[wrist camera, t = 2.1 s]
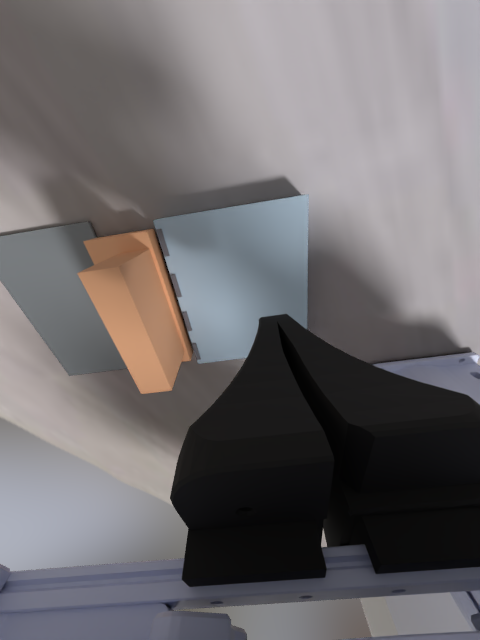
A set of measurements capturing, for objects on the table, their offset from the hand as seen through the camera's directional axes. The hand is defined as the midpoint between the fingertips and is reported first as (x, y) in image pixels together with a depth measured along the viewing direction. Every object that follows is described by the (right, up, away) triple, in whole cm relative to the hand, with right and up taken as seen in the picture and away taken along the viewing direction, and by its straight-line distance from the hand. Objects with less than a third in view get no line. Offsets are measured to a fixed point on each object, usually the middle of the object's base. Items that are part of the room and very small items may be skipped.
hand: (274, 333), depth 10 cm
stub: (-8, +2, +6) cm, 11 cm away
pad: (-14, +1, +7) cm, 16 cm away
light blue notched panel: (-2, +3, +6) cm, 7 cm away
